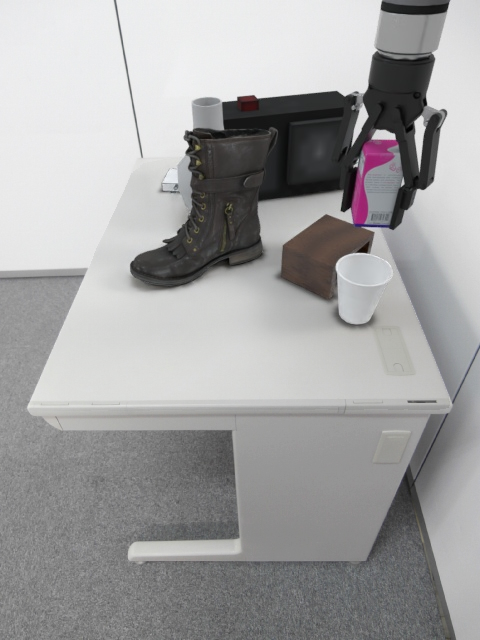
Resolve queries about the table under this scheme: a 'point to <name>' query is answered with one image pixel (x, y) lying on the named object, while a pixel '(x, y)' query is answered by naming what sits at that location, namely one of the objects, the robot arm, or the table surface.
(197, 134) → the boot
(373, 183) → the supplement box
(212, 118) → the vase
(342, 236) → the brown wooden box
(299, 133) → the speaker
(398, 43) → the robot arm
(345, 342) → the table surface
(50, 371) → the table surface
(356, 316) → the cup
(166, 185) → the container
